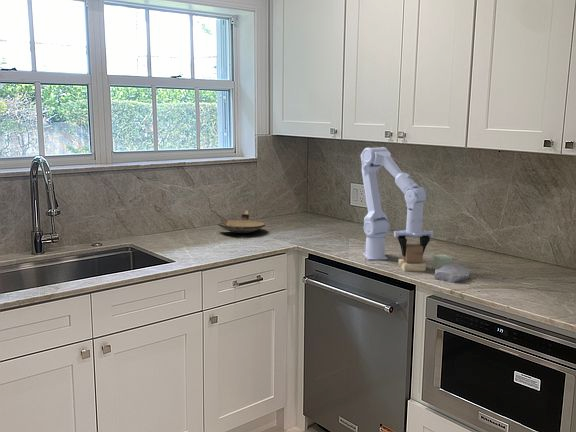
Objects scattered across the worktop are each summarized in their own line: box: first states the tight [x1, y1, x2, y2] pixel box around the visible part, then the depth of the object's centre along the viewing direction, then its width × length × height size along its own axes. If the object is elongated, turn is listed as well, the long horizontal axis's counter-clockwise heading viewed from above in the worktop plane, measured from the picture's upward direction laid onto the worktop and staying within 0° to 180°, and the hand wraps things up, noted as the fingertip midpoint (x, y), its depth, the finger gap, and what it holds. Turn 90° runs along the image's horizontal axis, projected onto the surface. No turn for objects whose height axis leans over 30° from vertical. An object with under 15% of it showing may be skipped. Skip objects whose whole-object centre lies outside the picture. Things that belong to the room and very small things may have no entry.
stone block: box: [434, 263, 471, 284], centre depth 201 cm, size 12×5×10 cm
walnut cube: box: [401, 242, 424, 263], centre depth 212 cm, size 6×6×6 cm
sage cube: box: [432, 254, 453, 271], centre depth 212 cm, size 5×5×5 cm
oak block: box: [397, 258, 427, 272], centre depth 213 cm, size 8×8×3 cm
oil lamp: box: [217, 210, 266, 234], centre depth 273 cm, size 22×30×8 cm
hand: (412, 255), depth 212 cm, fingers closed on walnut cube, 6 cm apart
